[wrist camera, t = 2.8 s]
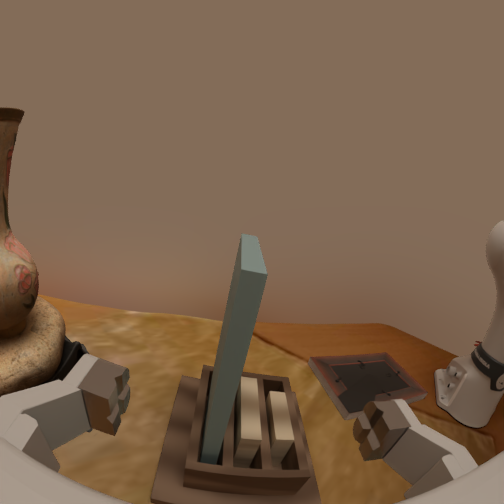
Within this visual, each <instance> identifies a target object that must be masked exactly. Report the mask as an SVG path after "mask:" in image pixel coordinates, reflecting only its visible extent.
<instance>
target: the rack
mask: <svg viewBox="0 0 504 504" xmlns="http://www.w3.org/2000/svg"><path fill="white" fill-rule="evenodd" d="M213 370H214V367H212V366H207V365H203V369H202V374H201V379H197V378H193V377H188V376H183V375H182V377H181V381H180V384H179V388H178V391H177V395H176V399H175V402H174V406H173V410H172V414H171V417H170V421H169V425H168V429H167V433H166V436H165V440H164V444H163V448H162V452H161V456H160V460H159V465H158V469H157V473H156V477H155V481H154V486H153V490H152V494H151V502H152V503H156V504H321V499H320V495H319V491H318V486H317V482H316V478H315V473H314V469H313V465H312V461H311V456H310V452H309V448H308V444H307V440H306V435H305V431H304V427H303V423H302V419H301V415H300V411H299V406H298V402H297V398H296V394H295V392H292V391H291V387H290V382H289V378H288V377H279V376H270V375H262V374H255V373H248V372H242V375H241V376H242V377H249V378H256V379H257V386H258V399H259V411H260V424H261V436H262V441H261V443H260V445H259V447H258V450H257V452H256V454H255V456H254V458H253V460H252V462H251V464H250V466H249V468H238V467H233V447H234V403H233V407H232V411H231V414H230V418H229V421H228V425H227V428H226V431H225V435H224V438H223V442H222V445H221V449H220V452H219V455H218V459H217V462H216V465H213V464H206V463H200V454H201V446H202V438H203V430H204V422H205V415H206V407H207V401H208V396H209V390H210V385H211V380H212V375H213ZM269 391H275V392H285V395H286V400H287V405H288V410H289V415H290V420H291V425H292V430H293V435H294V442H293V443H292V445H291V447H290V448H289V450H288V452H287V453H286V455H285V457H284V458H283V460H282V461H281V463H280V465H279V466H272V460H271V451H270V442H269V433H268V423H267V414H266V405H265V402H266V399H267V397H268V394H269Z"/></svg>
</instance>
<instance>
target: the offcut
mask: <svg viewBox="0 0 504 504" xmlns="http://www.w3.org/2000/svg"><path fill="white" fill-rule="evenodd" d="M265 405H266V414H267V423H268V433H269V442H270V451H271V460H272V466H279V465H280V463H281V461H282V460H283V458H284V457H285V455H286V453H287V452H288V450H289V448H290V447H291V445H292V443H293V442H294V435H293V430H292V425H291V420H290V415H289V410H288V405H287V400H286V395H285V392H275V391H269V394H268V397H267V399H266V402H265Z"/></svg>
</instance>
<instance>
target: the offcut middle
mask: <svg viewBox="0 0 504 504" xmlns="http://www.w3.org/2000/svg"><path fill="white" fill-rule="evenodd" d="M261 441H262V436H261V424H260V411H259V399H258V386H257V379H256V378H249V377H242V376H241V378H240V382H239V385H238V389H237V393H236V396H235V400H234V447H233V467H238V468H249V466H250V464H251V462H252V460H253V458H254V456H255V454H256V452H257V450H258V447H259V445H260V443H261Z"/></svg>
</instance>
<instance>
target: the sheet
mask: <svg viewBox="0 0 504 504" xmlns="http://www.w3.org/2000/svg"><path fill="white" fill-rule="evenodd" d="M266 279H267V270H266V267H265V263H264V260H263V256H262V253H261V249H260V245H259V242H258V238H257V237H256V236H251V235H247V234H242V235H241V239H240V244H239V248H238V253H237V258H236V262H235V267H234V272H233V277H232V281H231V286H230V291H229V296H228V301H227V305H226V311H225V315H224V320H223V325H222V330H221V335H220V340H219V345H218V350H217V355H216V360H215V365H214V370H213V375H212V380H211V385H210V390H209V396H208V401H207V407H206V415H205V422H204V430H203V438H202V446H201V454H200V463H206V464H213V465H216V462H217V459H218V455H219V452H220V449H221V445H222V442H223V438H224V435H225V431H226V428H227V425H228V421H229V418H230V414H231V411H232V407H233V403H234V400H235V396H236V393H237V389H238V385H239V382H240V378H241V375H242V371H243V367H244V364H245V360H246V356H247V352H248V349H249V345H250V341H251V337H252V334H253V330H254V326H255V322H256V318H257V314H258V310H259V307H260V302H261V299H262V295H263V290H264V287H265V283H266Z"/></svg>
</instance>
